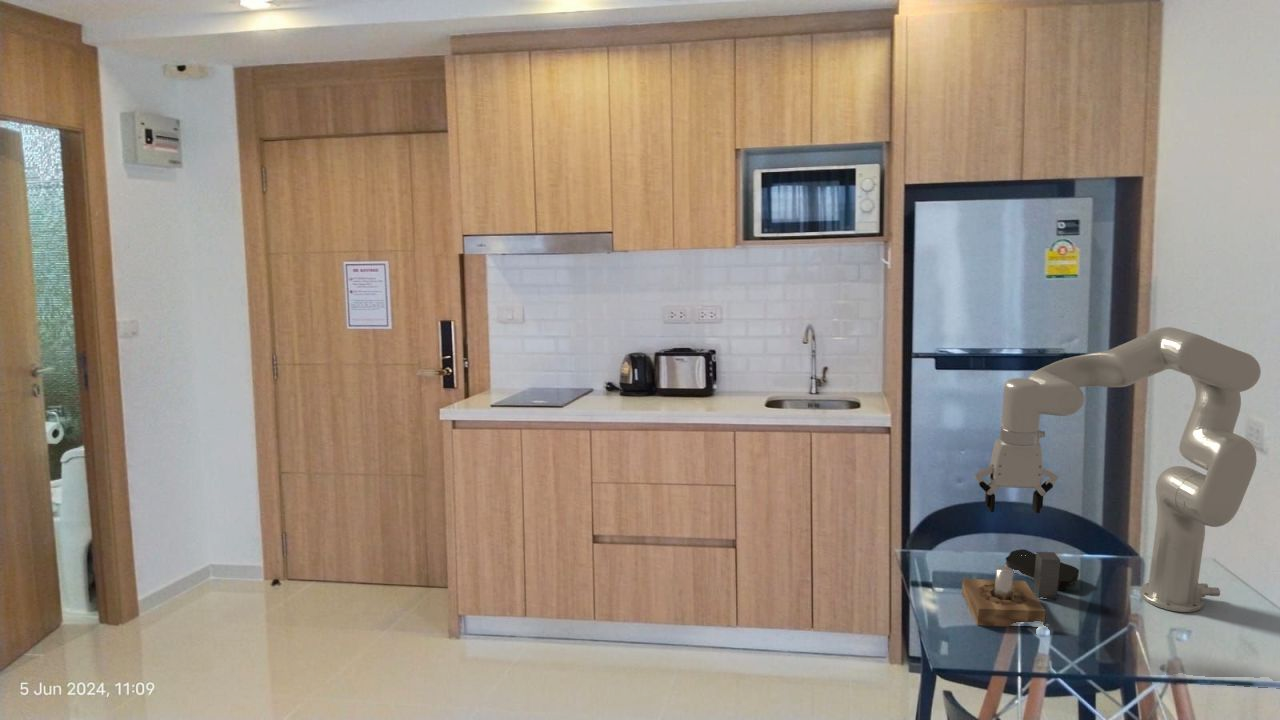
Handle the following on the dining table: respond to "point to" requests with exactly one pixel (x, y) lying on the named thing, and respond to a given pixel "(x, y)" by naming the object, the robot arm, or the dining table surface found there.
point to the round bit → (1003, 583)
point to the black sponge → (1027, 567)
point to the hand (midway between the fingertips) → (1013, 510)
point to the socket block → (1001, 603)
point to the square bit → (1046, 575)
